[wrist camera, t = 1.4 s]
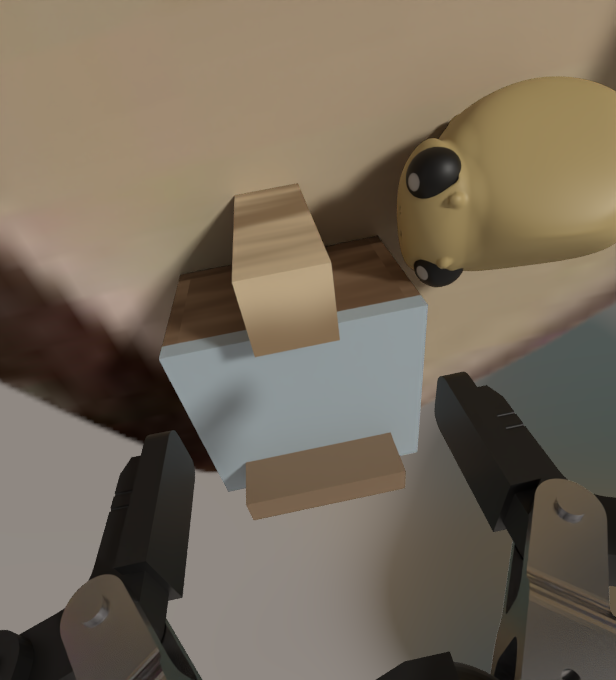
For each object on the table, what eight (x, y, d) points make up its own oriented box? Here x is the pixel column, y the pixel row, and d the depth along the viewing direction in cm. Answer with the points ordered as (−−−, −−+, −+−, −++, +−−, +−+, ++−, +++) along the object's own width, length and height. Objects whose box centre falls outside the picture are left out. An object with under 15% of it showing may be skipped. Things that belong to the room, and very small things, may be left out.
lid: (161, 346, 20) (147, 402, 17) (420, 294, 20) (453, 340, 17) (228, 479, 28) (227, 533, 25) (412, 440, 28) (433, 489, 25)
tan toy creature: (361, 103, 21) (439, 139, 13) (568, 53, 21) (779, 57, 13) (374, 258, 27) (433, 350, 19) (535, 219, 27) (663, 295, 19)
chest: (180, 274, 26) (161, 346, 20) (377, 236, 26) (420, 294, 20) (230, 400, 34) (228, 479, 28) (381, 369, 35) (412, 440, 28)
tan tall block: (234, 195, 23) (231, 282, 15) (297, 183, 24) (331, 262, 15) (249, 254, 26) (254, 357, 17) (306, 243, 26) (339, 340, 17)
